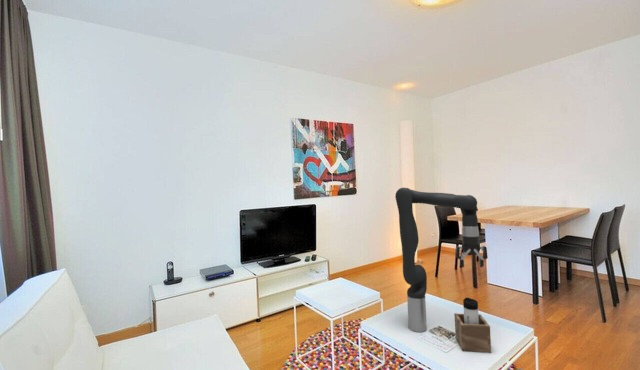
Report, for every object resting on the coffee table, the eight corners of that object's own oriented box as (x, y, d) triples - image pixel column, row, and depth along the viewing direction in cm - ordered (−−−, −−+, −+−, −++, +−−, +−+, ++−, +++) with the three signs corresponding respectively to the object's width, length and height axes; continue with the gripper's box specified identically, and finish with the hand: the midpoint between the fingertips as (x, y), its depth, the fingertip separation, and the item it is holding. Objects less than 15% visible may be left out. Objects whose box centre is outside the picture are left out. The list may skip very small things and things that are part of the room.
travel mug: (474, 338, 142) (472, 297, 142) (482, 345, 136) (480, 302, 136) (462, 339, 142) (460, 297, 142) (469, 346, 136) (467, 303, 136)
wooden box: (455, 337, 145) (454, 313, 146) (481, 339, 143) (480, 314, 143) (462, 351, 134) (461, 324, 134) (491, 352, 131) (490, 326, 131)
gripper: (483, 233, 150) (484, 265, 150) (453, 233, 153) (454, 264, 153) (488, 236, 143) (490, 269, 142) (457, 236, 145) (458, 269, 145)
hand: (471, 267), depth 148 cm, fingers open, 8 cm apart
